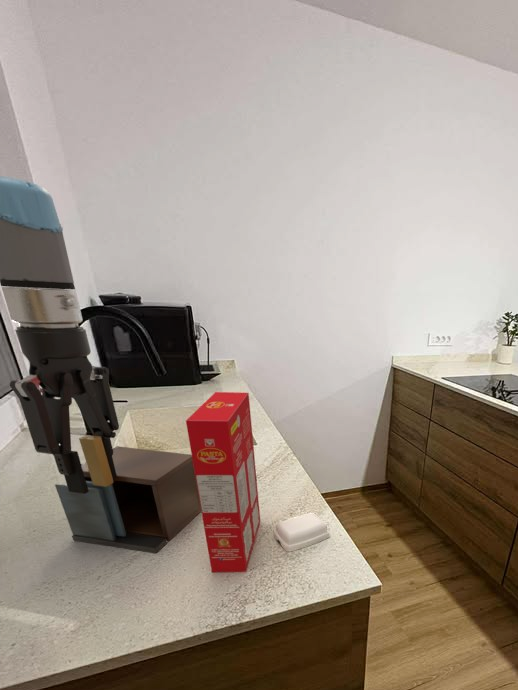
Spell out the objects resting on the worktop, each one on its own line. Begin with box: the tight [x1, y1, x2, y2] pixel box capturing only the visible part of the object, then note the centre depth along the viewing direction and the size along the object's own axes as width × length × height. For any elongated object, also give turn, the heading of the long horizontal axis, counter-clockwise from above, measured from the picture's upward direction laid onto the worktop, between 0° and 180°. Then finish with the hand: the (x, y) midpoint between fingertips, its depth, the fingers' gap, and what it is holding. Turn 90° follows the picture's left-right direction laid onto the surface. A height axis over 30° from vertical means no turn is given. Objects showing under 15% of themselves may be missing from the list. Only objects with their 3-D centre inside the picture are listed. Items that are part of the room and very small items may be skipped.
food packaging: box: [185, 391, 261, 573], centre depth 62 cm, size 15×5×25 cm, turn 4°
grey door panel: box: [78, 434, 127, 537], centre depth 63 cm, size 8×2×18 cm, turn 80°
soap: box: [273, 512, 331, 552], centre depth 70 cm, size 9×7×3 cm
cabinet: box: [54, 446, 202, 554], centre depth 69 cm, size 16×14×12 cm
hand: (94, 483), depth 61 cm, fingers open, 5 cm apart
